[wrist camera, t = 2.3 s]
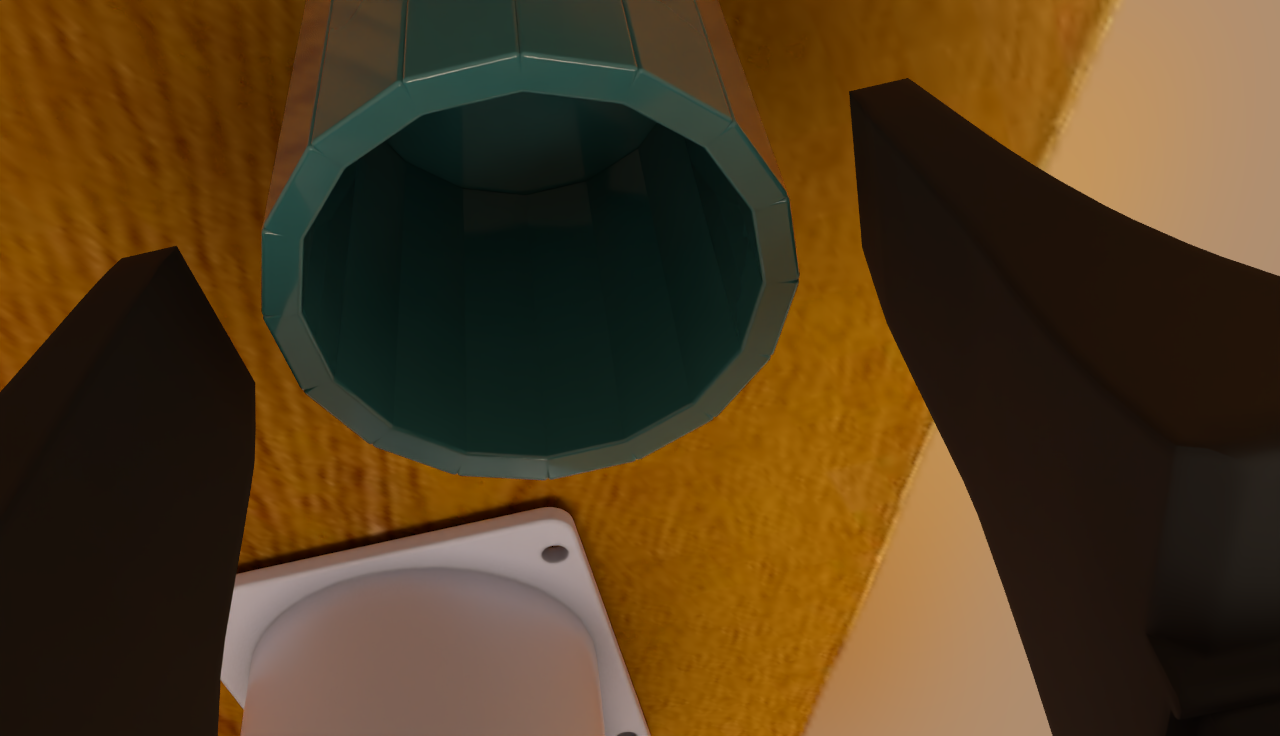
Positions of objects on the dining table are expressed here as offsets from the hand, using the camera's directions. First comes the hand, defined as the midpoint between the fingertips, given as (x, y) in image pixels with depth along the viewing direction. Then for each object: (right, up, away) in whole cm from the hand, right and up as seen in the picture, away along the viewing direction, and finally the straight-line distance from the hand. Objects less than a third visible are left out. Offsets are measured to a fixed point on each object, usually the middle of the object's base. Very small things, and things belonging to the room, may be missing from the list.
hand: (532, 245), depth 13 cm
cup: (-1, +3, +4) cm, 5 cm away
